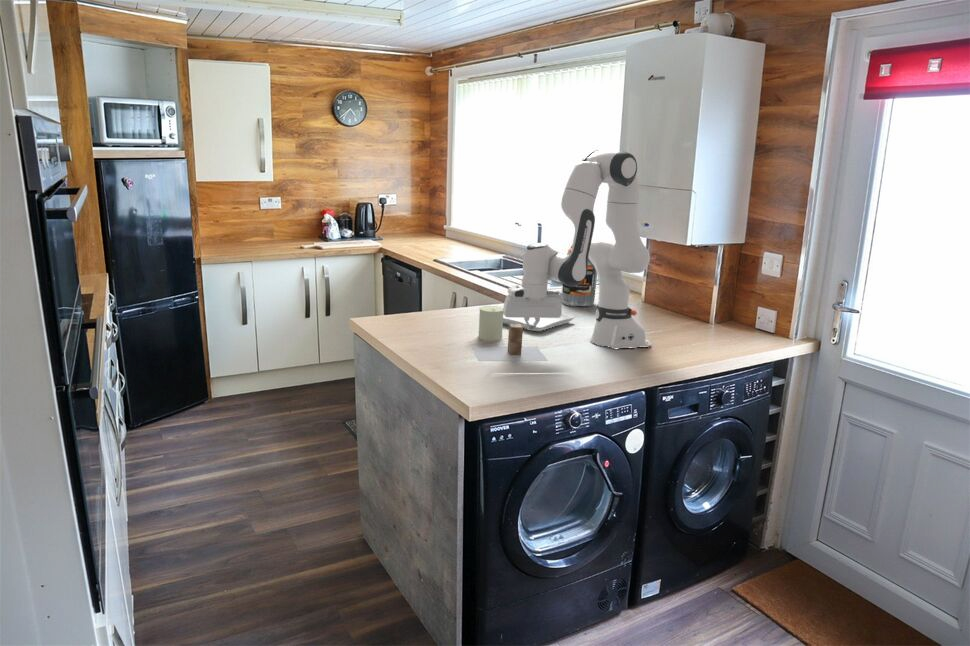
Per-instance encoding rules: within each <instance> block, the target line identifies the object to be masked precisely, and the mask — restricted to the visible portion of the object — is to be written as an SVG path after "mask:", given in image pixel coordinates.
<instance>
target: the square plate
mask: <svg viewBox="0 0 970 646" xmlns="http://www.w3.org/2000/svg"><path fill="white" fill-rule="evenodd" d="M575 318H576V316H573V315H570V314H569V315H568V314H566V313H562V315H561V316H560V317H559V318H540V321H539V323H538V324H537V325H536V330H532V331H531V332H543V330H544V331H546V329H547V330H550V329H553V328H555V326H556V327H558V326H561V325H564V324H568V323H569V322H571V321H573V320H574V319H575ZM528 322H529V324H533V323H534V322H535V318H530V319H529V321H528ZM505 324H506V326H509V324H521V326H522V327H523V328H524V329H523V330H526V329H527V324H526V322H525V320H524V318H513V317H506V316H505V315H504V314H503V325H505ZM552 327H553V328H552ZM549 328H550V329H549Z"/></svg>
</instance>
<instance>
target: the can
mask: <svg viewBox="0 0 970 646" xmlns="http://www.w3.org/2000/svg"><path fill="white" fill-rule="evenodd" d="M503 308H504V307H501V306H498V305H497V306H496V305H483V306H481V307H479V315H478V316H479V321H478V336H477V338H478V339H480V340H482V341H486V342H487V341H488V342H495V341H496V342H497V341H502V339H503V327H504V324H503Z"/></svg>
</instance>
